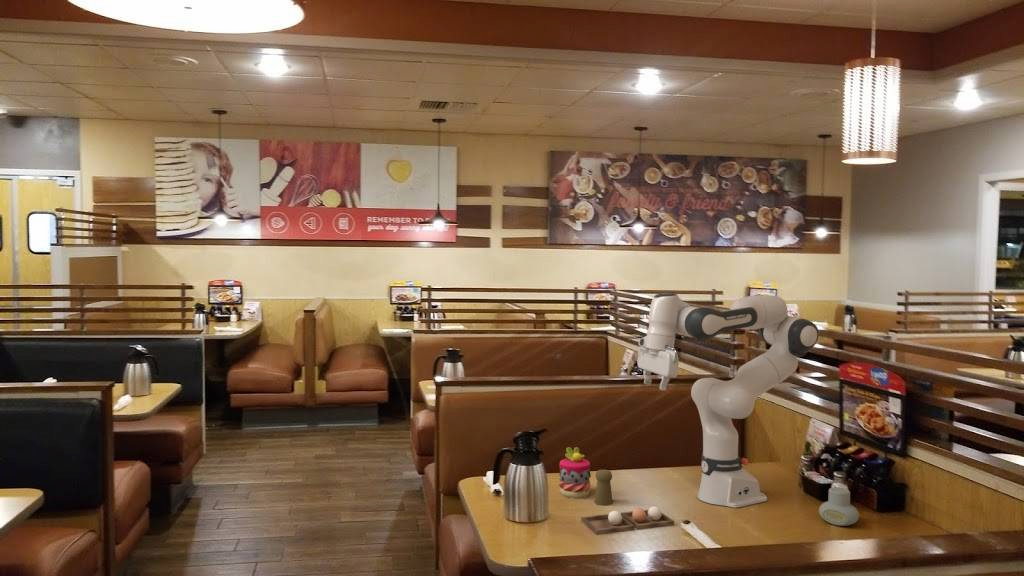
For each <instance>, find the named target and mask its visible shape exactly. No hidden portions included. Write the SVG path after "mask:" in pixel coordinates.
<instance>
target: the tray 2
mask: <svg viewBox="0 0 1024 576" xmlns="http://www.w3.org/2000/svg"><path fill="white" fill-rule="evenodd" d="M649 509H650V508H648V509H643V510H644V511H645V513H646V518H645V520H644V521H642V522H637V521H635V520H634V519H633V516H632V513H633V511H634V510H632V511H622V512H619V513H620V514H621V516H622V517H623V518H625V519H626V520H627V521H629V522H630V523H631V524H633V525H634V529H636V530H637V531H638V530H646V529H647V530H648V529H654V528H655V529H656V528H662V527H663V528H664V527H672V526H675V521H674V520H673V519H672V518H671V517H669V516H668V515H666V514H665V513H663V512H661V517H660V519H658V520H652V519H650V518H649V516H648V510H649Z"/></svg>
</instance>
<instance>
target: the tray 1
mask: <svg viewBox="0 0 1024 576" xmlns="http://www.w3.org/2000/svg"><path fill="white" fill-rule="evenodd" d="M608 515H609V513H605V514H596V515H588V516H580V522H581V523H582V524H583V525H584V526H586V527H587V528H588V529H589V530H590V531H591V532H592V533H593V534H595V535H598V536H599V535H604V534H605V535H606V534H614V533H621V532H629V531H635V528H634V525H633V524H631V523H630V522H629V521H627V520H626V519H625V518H623V517H622V520H621V522H620V523H619V524H618V525H613V524H611V523H610V522H609V520H608Z"/></svg>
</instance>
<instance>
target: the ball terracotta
mask: <svg viewBox="0 0 1024 576" xmlns="http://www.w3.org/2000/svg"><path fill="white" fill-rule="evenodd" d="M644 510H645V509H643V508H640V507H638V508H634V509H633V510H632V511H633V513H632V516H633V519H634V520H635V521H637V522H642V521H644V520H645V518H646V513H645V511H644Z"/></svg>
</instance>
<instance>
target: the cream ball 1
mask: <svg viewBox="0 0 1024 576" xmlns="http://www.w3.org/2000/svg"><path fill="white" fill-rule="evenodd" d="M620 513H621V512H620V511H618V510H611V511H610V512H609V513H608V514H609V515H608V520H609V522H610V523H611V524H613V525H618V524H619V523H620V522H621V520H622V516H621V514H620Z"/></svg>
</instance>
